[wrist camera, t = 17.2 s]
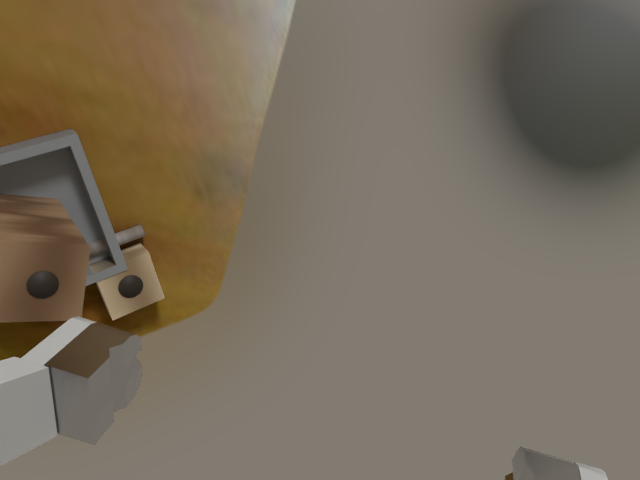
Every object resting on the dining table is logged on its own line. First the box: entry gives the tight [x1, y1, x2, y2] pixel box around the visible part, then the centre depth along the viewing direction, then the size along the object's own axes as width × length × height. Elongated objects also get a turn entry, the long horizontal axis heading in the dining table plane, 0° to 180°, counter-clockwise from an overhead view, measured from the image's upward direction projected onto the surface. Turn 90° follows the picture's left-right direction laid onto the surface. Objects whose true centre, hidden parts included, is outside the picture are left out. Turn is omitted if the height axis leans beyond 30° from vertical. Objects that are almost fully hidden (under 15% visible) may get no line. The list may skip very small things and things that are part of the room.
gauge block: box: [88, 225, 165, 320], centre depth 49 cm, size 6×7×3 cm
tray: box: [0, 129, 128, 286], centre depth 43 cm, size 13×13×3 cm
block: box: [0, 194, 90, 323], centre depth 38 cm, size 5×5×14 cm
